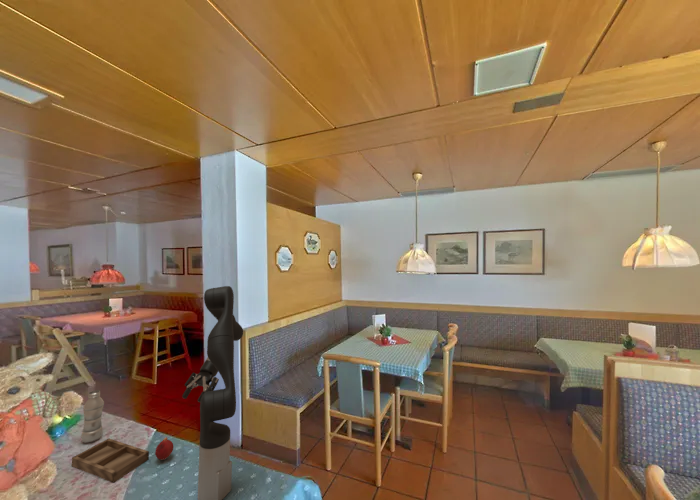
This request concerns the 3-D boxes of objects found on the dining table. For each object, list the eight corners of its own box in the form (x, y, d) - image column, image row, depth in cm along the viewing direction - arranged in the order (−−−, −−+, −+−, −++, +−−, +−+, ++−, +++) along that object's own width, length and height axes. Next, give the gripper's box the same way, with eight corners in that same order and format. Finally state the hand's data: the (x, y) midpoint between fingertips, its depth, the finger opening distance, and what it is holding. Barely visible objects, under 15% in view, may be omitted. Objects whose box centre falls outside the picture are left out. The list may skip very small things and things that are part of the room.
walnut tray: (148, 459, 107) (148, 451, 107) (113, 482, 96) (114, 473, 96) (108, 445, 115) (108, 438, 115) (71, 466, 103) (72, 457, 103)
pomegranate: (163, 466, 104) (164, 444, 104) (151, 463, 105) (151, 441, 106) (176, 455, 110) (177, 434, 110) (164, 453, 111) (165, 432, 111)
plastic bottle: (84, 437, 120) (87, 390, 120) (104, 433, 122) (107, 387, 123) (77, 447, 114) (80, 397, 114) (99, 442, 116) (101, 393, 117)
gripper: (197, 357, 130) (173, 393, 119) (221, 361, 126) (199, 399, 115) (205, 364, 135) (184, 400, 124) (229, 369, 131) (209, 406, 119)
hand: (191, 399), depth 119 cm, fingers open, 8 cm apart
